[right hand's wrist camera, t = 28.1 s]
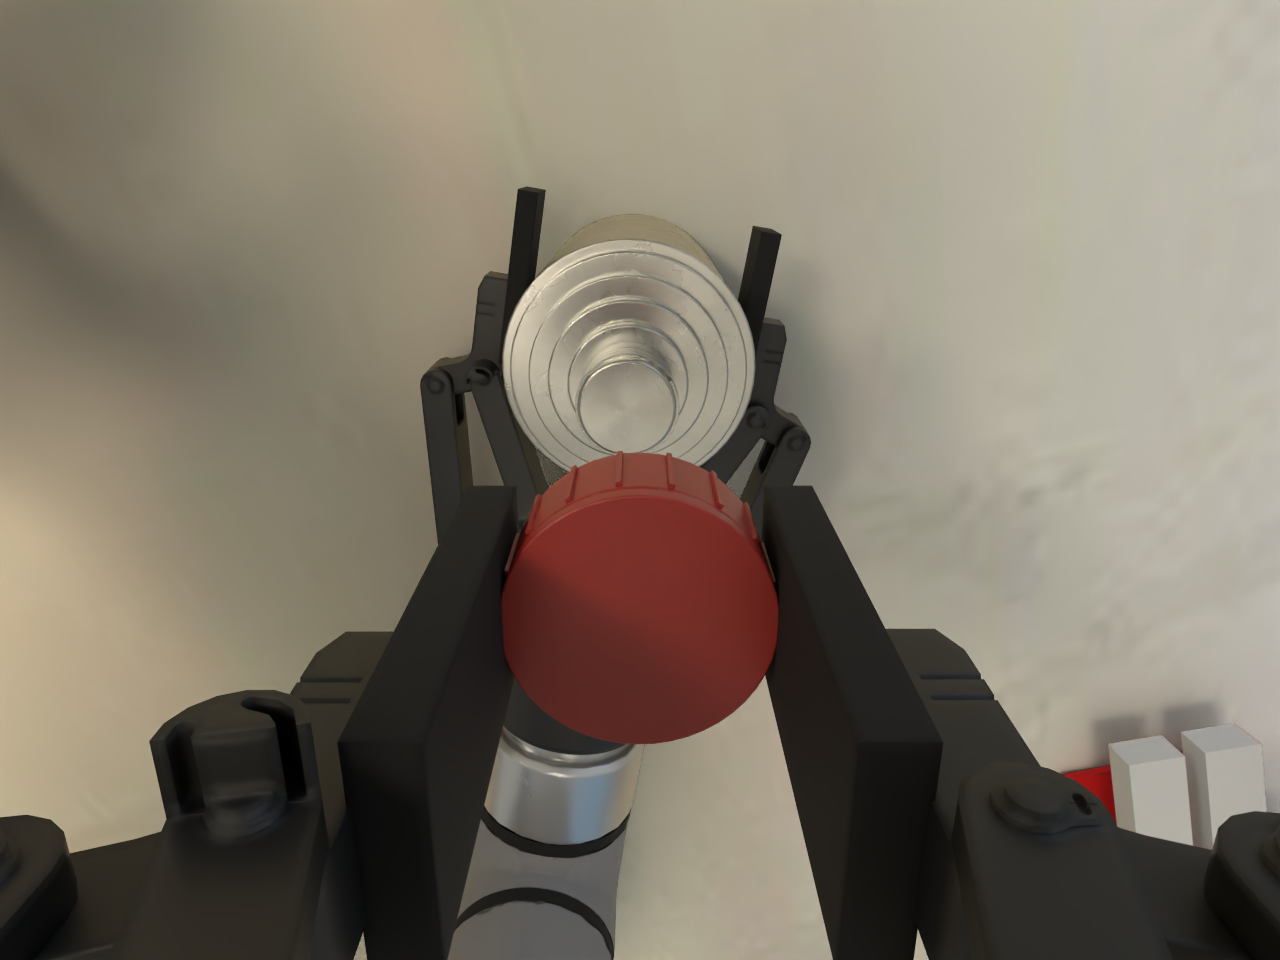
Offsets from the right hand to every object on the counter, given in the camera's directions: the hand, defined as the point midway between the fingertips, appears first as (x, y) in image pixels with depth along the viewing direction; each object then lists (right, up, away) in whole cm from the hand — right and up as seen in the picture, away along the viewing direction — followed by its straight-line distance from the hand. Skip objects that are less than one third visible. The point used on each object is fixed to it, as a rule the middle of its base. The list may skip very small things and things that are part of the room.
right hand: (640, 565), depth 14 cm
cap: (0, -1, -2) cm, 2 cm away
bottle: (0, +9, +27) cm, 29 cm away
